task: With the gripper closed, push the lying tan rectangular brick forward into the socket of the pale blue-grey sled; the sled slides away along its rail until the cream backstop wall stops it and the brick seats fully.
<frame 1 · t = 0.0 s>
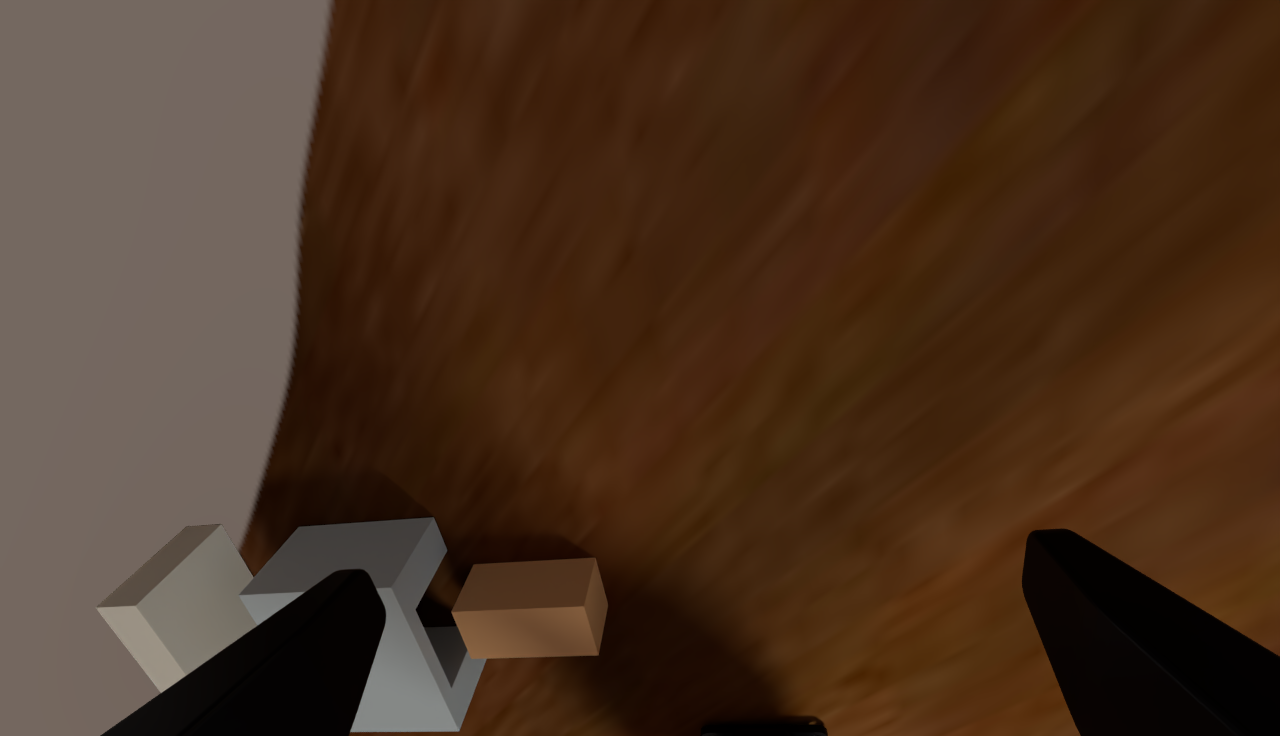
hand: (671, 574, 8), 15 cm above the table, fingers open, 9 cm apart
sled: (377, 627, 29), point 2 cm above the table, slide at 0.0 cm
backstop wall: (249, 599, 32), on the table
tan rectangular brick: (542, 581, 30), on the table
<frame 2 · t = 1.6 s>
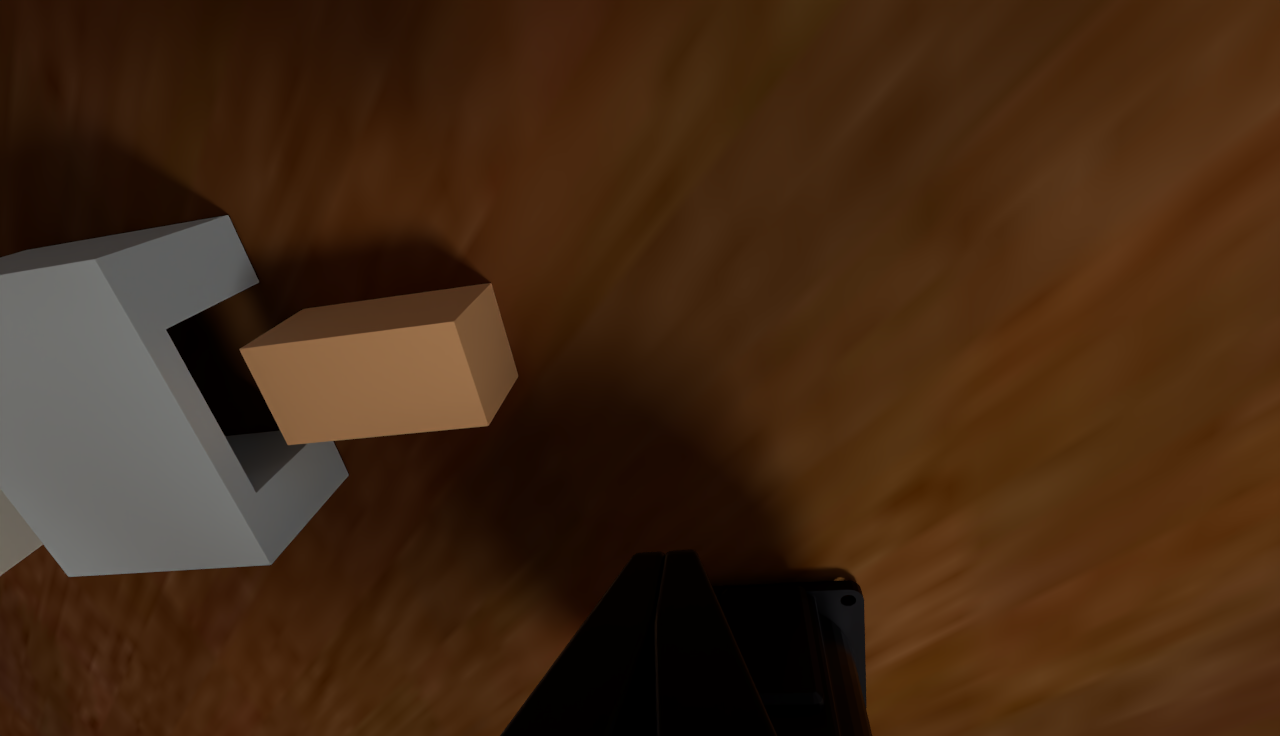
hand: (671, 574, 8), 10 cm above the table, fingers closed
sled: (145, 402, 18), point 2 cm above the table, slide at 0.0 cm
tan rectangular brick: (414, 340, 19), on the table
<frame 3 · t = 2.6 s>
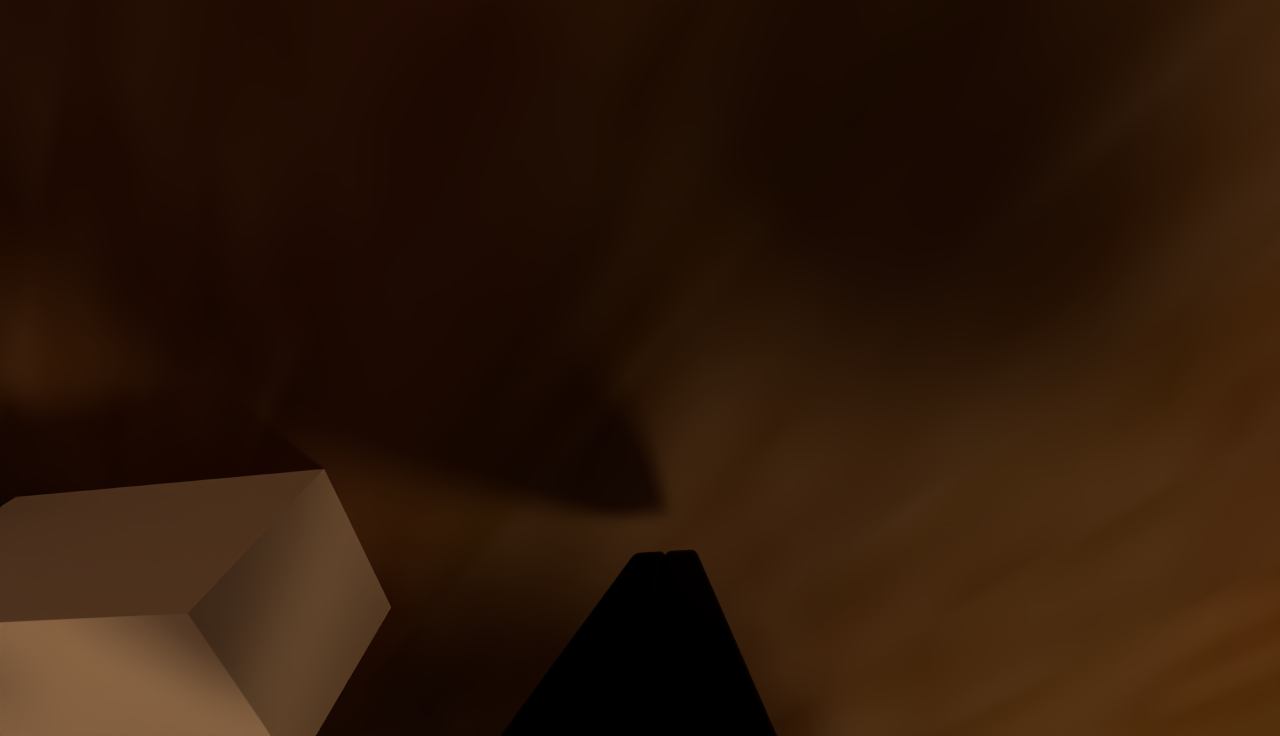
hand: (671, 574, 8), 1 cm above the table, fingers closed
tan rectangular brick: (213, 545, 11), on the table
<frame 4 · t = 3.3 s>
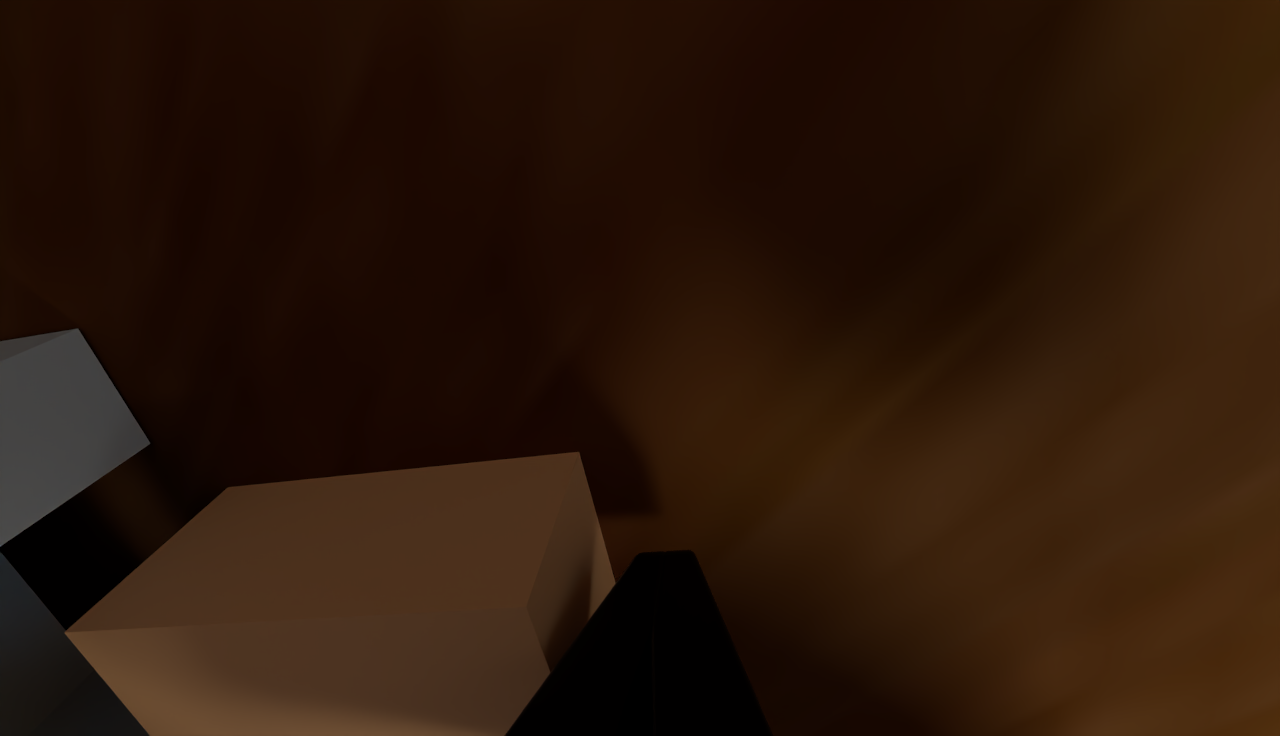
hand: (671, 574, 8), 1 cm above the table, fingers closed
tan rectangular brick: (429, 538, 10), on the table, touching gripper
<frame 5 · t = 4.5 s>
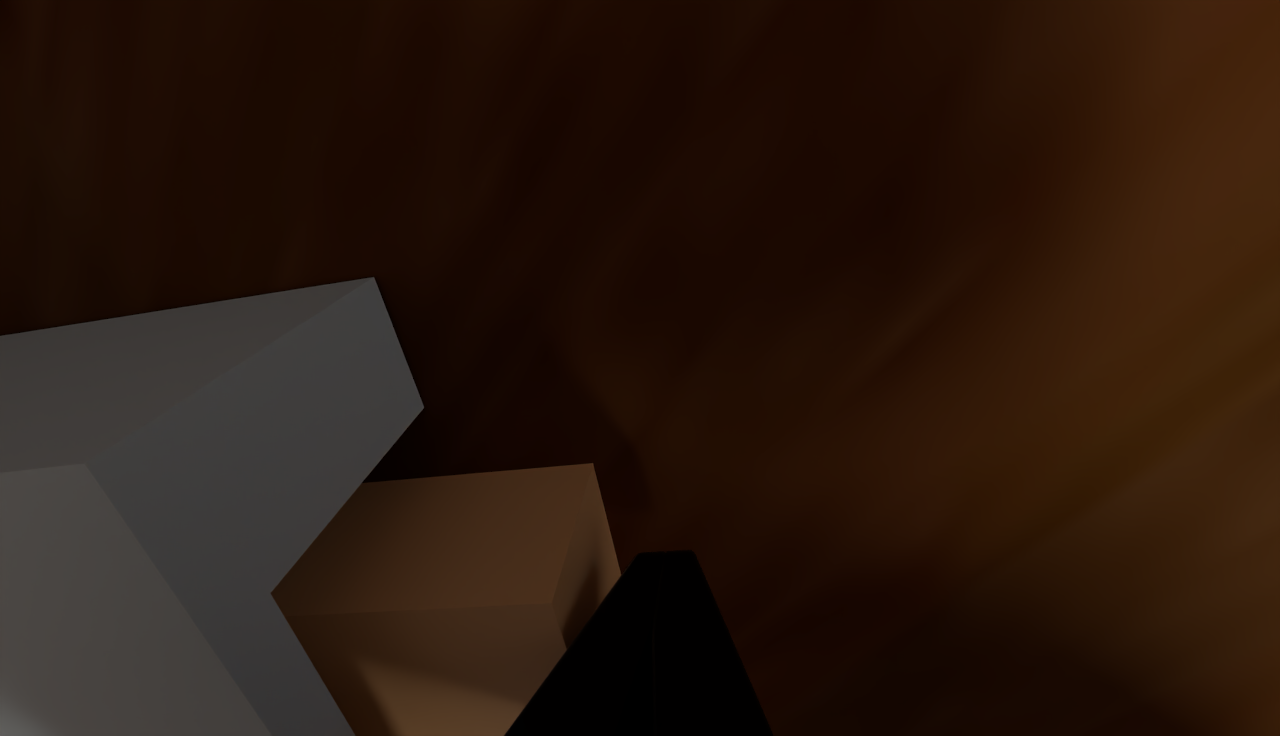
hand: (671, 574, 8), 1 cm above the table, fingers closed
sled: (195, 658, 9), point 2 cm above the table, slide at 0.0 cm
tan rectangular brick: (445, 538, 11), on the table, touching gripper
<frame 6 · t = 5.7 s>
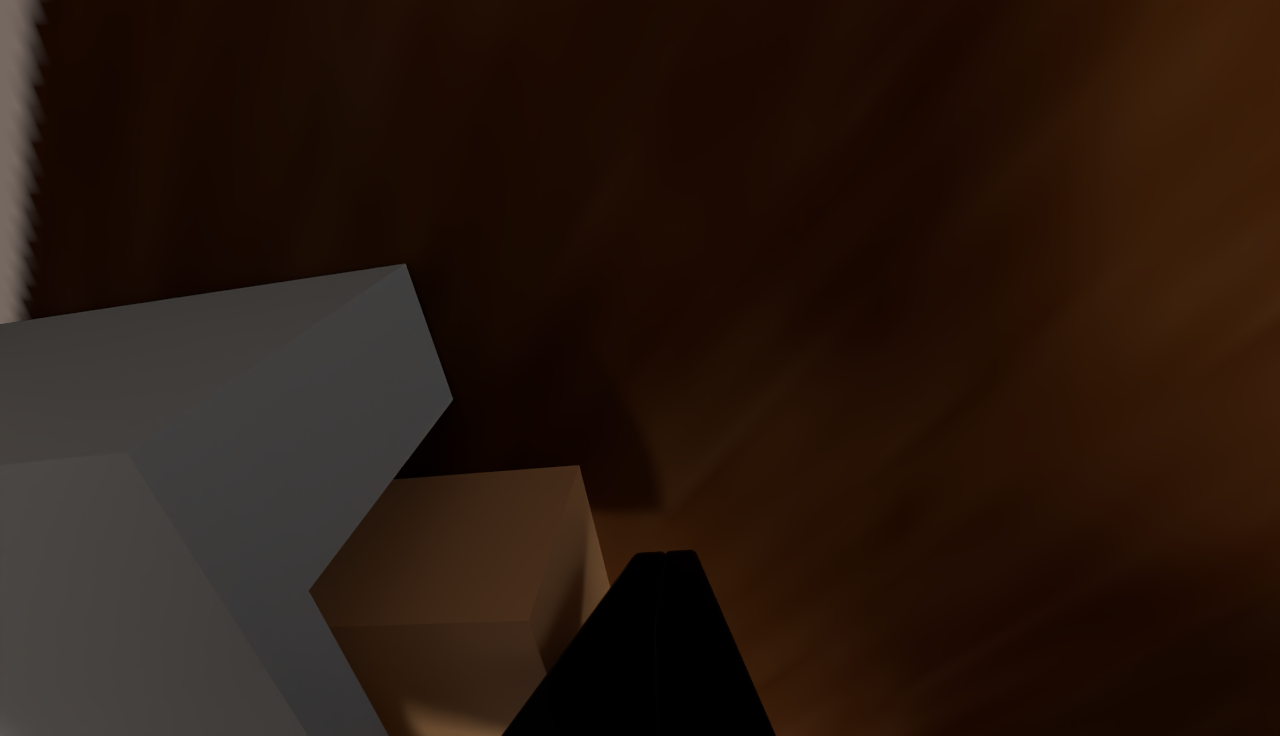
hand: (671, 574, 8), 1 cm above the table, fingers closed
sled: (216, 656, 9), point 2 cm above the table, slide at 3.8 cm
tan rectangular brick: (428, 544, 10), on the table
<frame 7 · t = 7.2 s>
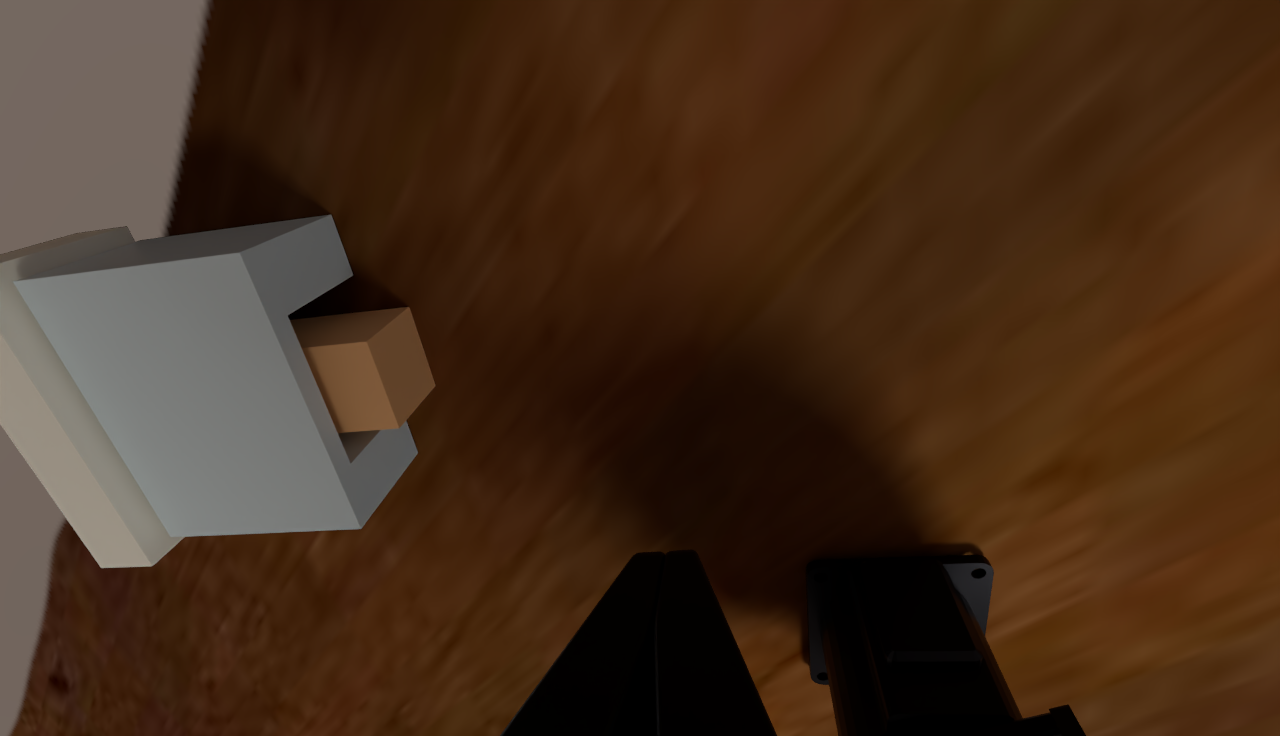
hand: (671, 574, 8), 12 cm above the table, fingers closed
sled: (248, 381, 20), point 2 cm above the table, slide at 3.8 cm
backstop wall: (172, 364, 23), on the table
tan rectangular brick: (346, 352, 22), on the table
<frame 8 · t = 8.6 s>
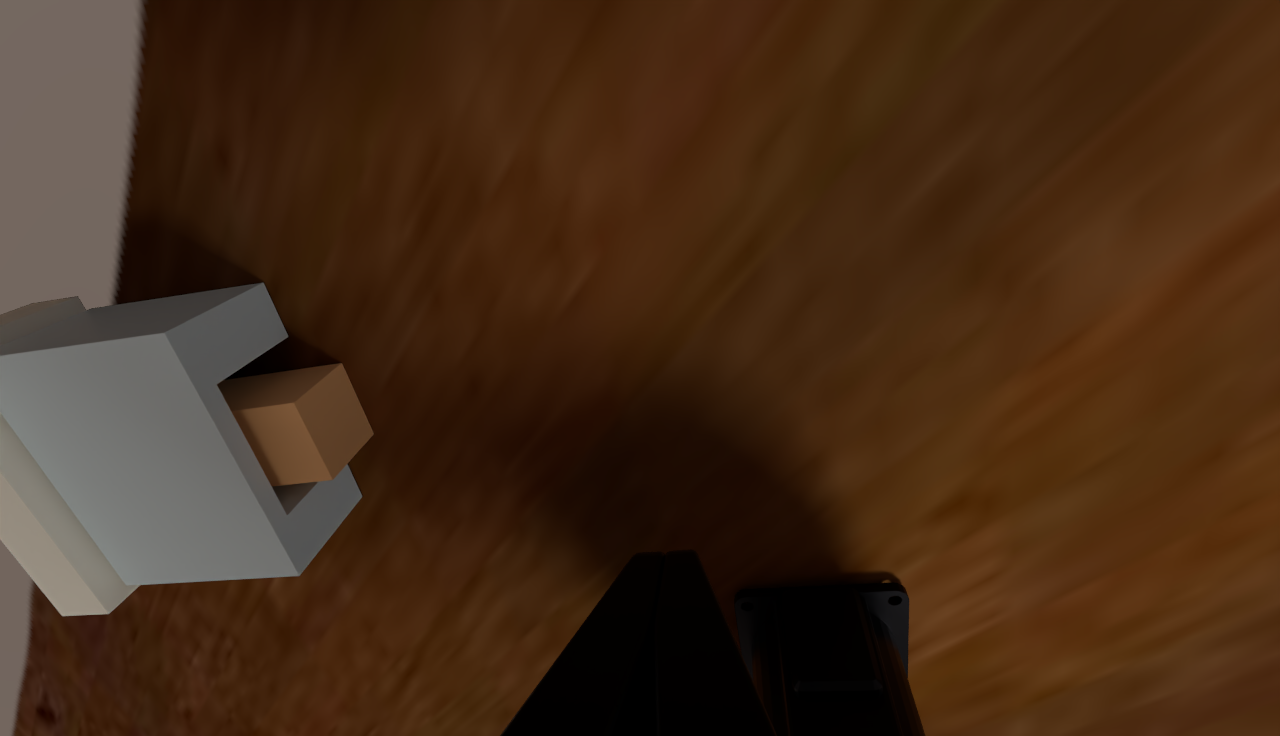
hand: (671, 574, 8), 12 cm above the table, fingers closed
sled: (192, 438, 21), point 2 cm above the table, slide at 3.8 cm
backstop wall: (129, 419, 24), on the table
tan rectangular brick: (289, 406, 23), on the table
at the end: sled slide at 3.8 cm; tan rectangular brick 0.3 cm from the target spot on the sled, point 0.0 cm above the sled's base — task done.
